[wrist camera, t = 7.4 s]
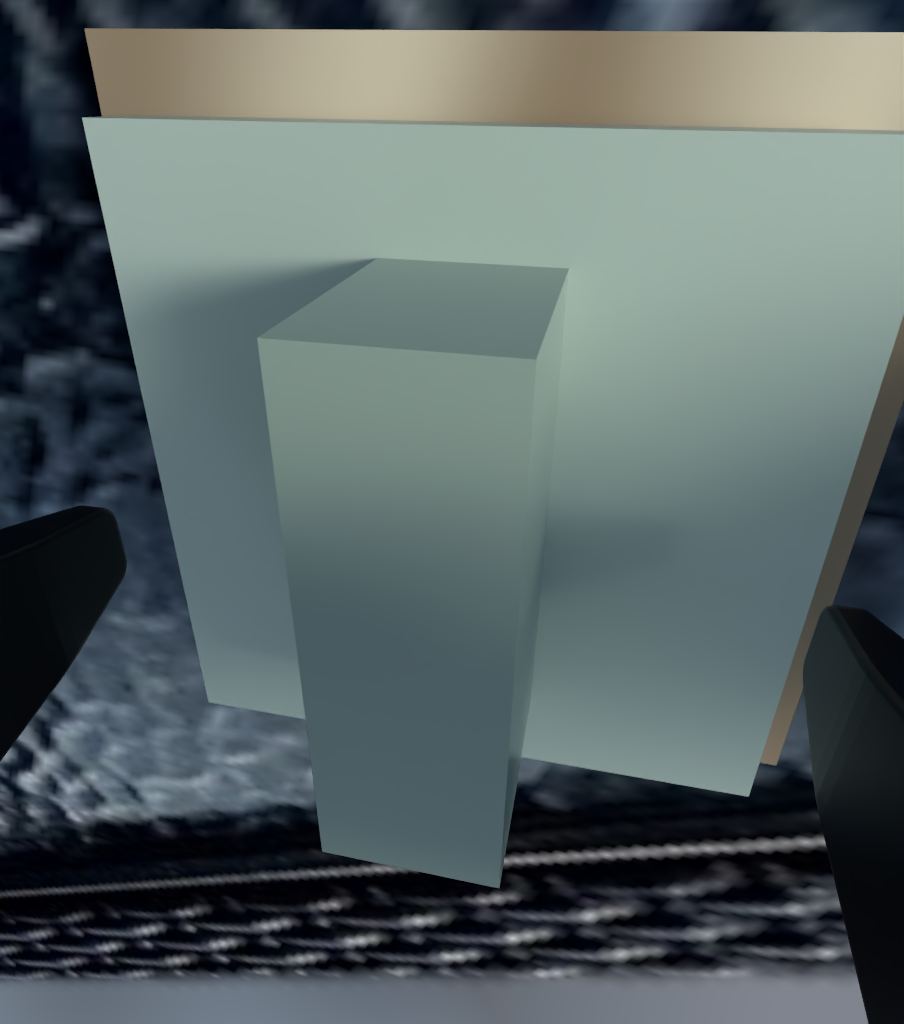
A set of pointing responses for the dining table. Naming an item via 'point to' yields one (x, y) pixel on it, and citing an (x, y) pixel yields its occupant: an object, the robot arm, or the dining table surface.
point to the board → (543, 99)
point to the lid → (501, 436)
